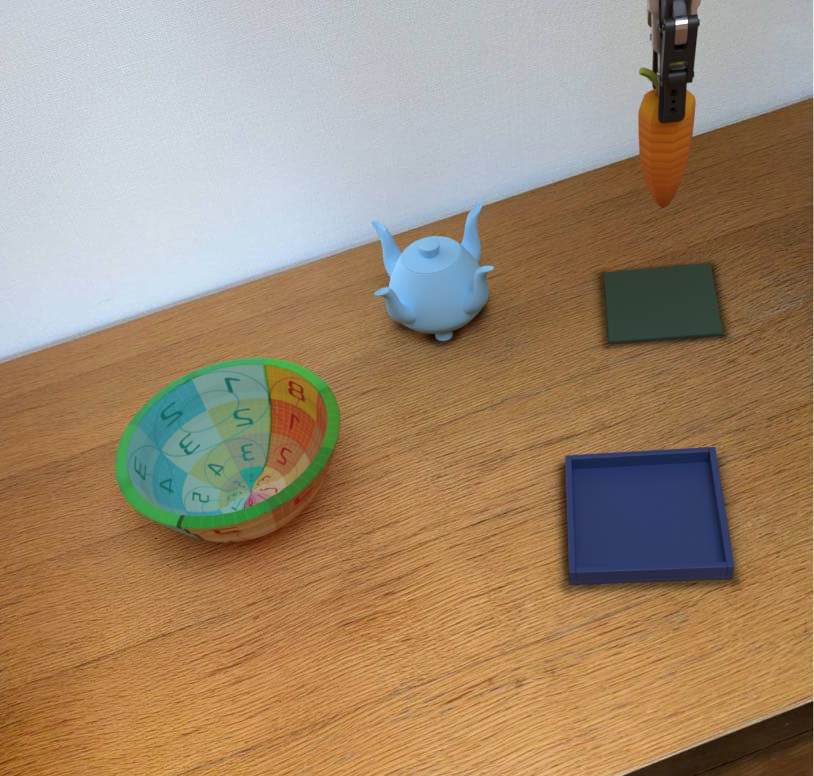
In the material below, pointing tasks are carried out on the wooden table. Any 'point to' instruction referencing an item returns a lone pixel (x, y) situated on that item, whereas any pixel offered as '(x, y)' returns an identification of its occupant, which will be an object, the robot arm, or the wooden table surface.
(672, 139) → the carrot
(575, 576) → the tray
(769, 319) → the wooden table surface
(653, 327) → the mat
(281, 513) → the bowl
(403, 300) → the teapot
